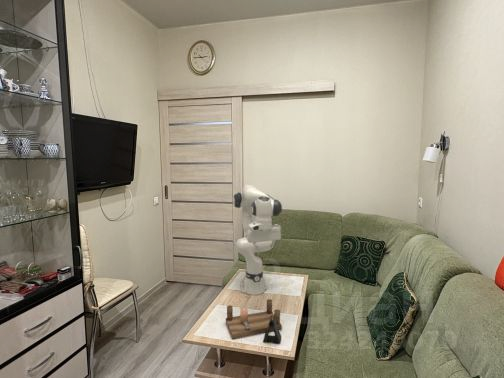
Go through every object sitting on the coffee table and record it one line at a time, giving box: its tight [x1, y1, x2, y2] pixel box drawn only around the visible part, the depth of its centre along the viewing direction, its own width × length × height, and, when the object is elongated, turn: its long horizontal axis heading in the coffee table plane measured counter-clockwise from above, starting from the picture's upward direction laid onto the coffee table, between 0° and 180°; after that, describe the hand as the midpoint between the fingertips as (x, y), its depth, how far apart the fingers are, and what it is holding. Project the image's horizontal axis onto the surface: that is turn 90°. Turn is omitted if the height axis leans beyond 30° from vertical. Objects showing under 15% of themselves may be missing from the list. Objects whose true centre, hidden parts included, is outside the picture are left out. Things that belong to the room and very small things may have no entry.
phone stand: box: [262, 316, 282, 345], centre depth 158 cm, size 9×6×12 cm, turn 79°
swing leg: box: [239, 306, 250, 330], centre depth 167 cm, size 10×4×8 cm, turn 17°
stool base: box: [225, 299, 283, 340], centre depth 171 cm, size 16×28×10 cm, turn 107°
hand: (264, 248), depth 176 cm, fingers open, 8 cm apart
